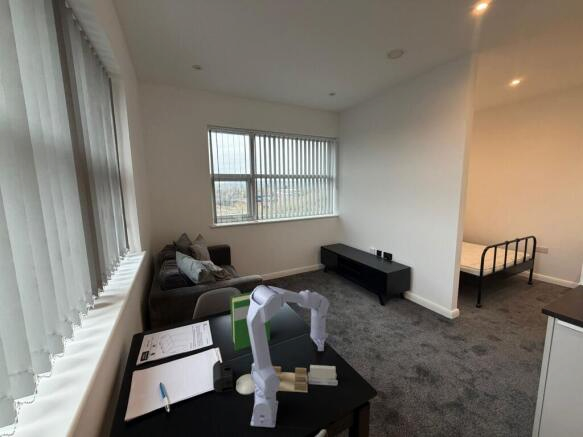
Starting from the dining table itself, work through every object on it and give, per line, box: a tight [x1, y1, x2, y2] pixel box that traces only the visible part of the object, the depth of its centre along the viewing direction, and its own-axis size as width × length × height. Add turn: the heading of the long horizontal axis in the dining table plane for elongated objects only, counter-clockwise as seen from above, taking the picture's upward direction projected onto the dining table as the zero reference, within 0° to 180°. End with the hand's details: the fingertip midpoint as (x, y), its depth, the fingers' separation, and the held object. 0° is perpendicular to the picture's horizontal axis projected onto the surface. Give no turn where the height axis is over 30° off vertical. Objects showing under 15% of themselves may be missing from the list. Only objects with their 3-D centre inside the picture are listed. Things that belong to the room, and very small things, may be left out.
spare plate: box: [235, 373, 255, 395], centre depth 96 cm, size 9×9×1 cm
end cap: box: [212, 359, 234, 394], centre depth 96 cm, size 10×7×7 cm
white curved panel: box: [309, 364, 337, 381], centre depth 97 cm, size 2×10×6 cm, turn 86°
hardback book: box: [230, 291, 271, 352], centre depth 121 cm, size 18×7×24 cm, turn 116°
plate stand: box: [307, 371, 339, 386], centre depth 98 cm, size 5×12×2 cm, turn 86°
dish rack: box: [272, 365, 308, 393], centre depth 96 cm, size 9×16×4 cm, turn 86°
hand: (317, 355), depth 98 cm, fingers open, 7 cm apart
